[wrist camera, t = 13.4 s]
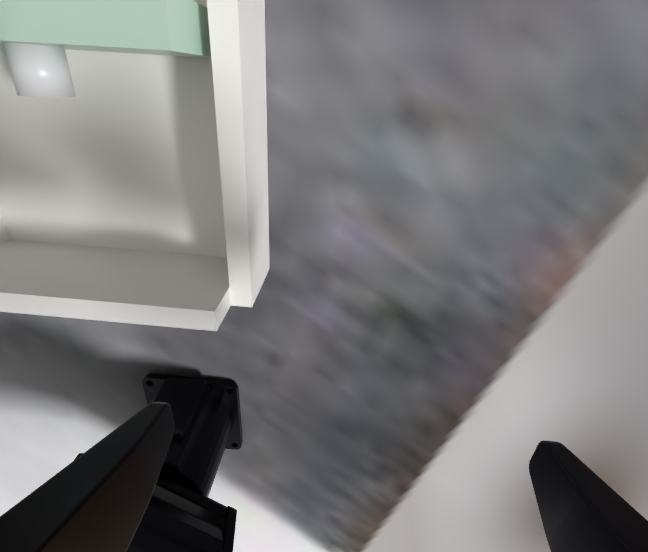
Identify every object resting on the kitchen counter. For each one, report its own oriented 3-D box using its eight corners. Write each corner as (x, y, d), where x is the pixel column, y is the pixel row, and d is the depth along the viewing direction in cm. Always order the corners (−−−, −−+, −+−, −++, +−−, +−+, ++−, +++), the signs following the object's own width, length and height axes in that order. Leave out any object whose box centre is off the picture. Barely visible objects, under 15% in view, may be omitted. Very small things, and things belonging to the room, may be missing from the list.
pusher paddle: (224, 102, 16) (177, 110, 11) (-46, 85, 16) (-185, 86, 12) (219, 13, 14) (162, -15, 10) (-79, -4, 15) (-251, -36, 10)
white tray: (269, 268, 21) (240, 333, 15) (13, 247, 21) (-100, 302, 16) (256, -433, 10) (151, -986, 5) (-247, -436, 11) (-825, -933, 5)
